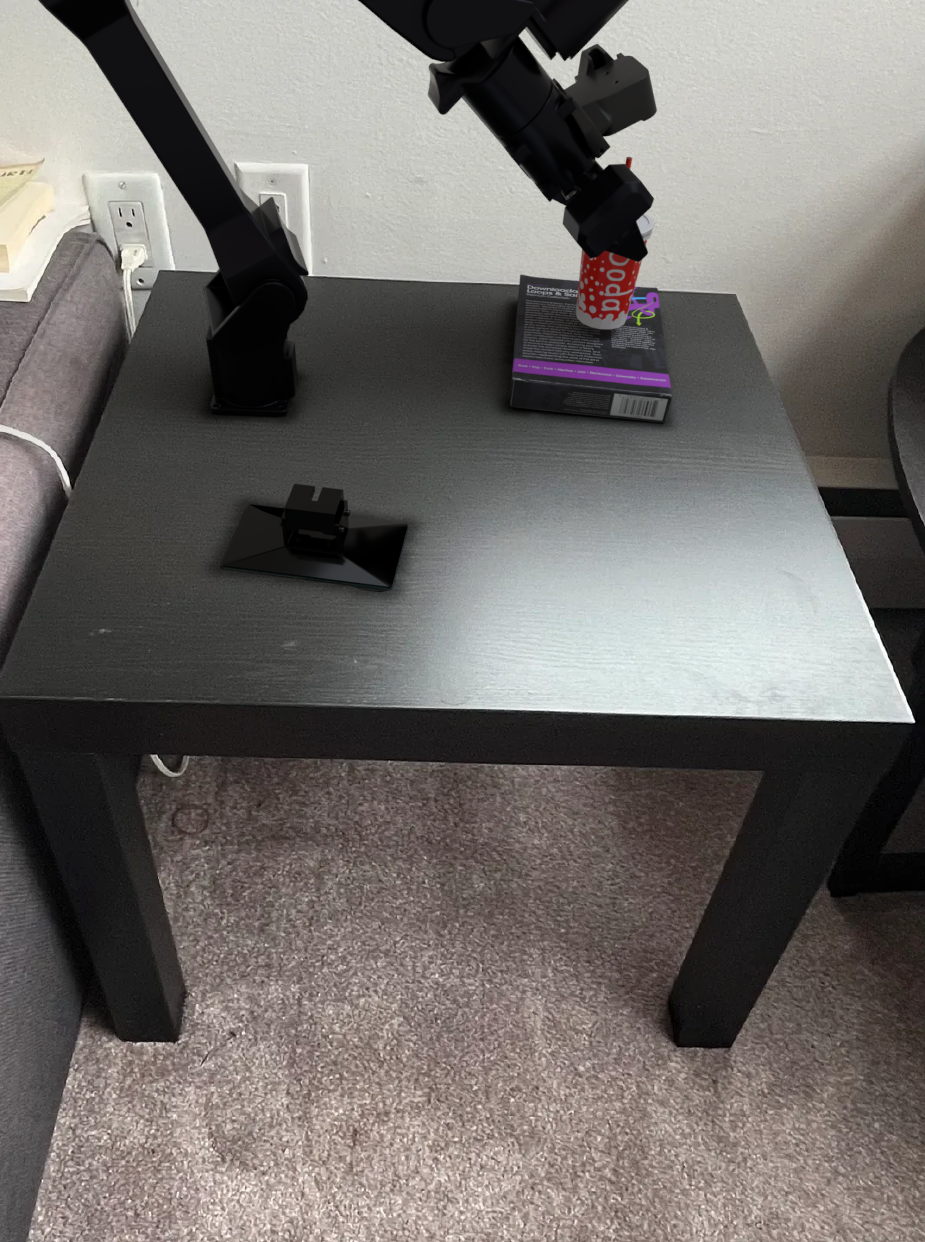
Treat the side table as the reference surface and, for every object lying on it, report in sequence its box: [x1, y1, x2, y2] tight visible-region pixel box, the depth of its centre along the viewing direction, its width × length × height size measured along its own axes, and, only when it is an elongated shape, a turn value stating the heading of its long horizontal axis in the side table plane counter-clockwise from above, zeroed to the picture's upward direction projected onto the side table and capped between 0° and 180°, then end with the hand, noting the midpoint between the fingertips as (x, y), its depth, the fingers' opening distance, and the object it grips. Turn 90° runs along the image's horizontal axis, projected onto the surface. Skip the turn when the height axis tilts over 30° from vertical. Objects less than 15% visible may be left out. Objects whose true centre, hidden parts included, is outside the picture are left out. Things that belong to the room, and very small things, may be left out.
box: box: [509, 274, 673, 424], centre depth 91 cm, size 14×4×20 cm
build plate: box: [221, 483, 409, 592], centre depth 71 cm, size 12×7×5 cm, turn 83°
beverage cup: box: [576, 156, 655, 329], centre depth 84 cm, size 6×6×14 cm
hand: (629, 240), depth 85 cm, fingers closed on beverage cup, 6 cm apart
